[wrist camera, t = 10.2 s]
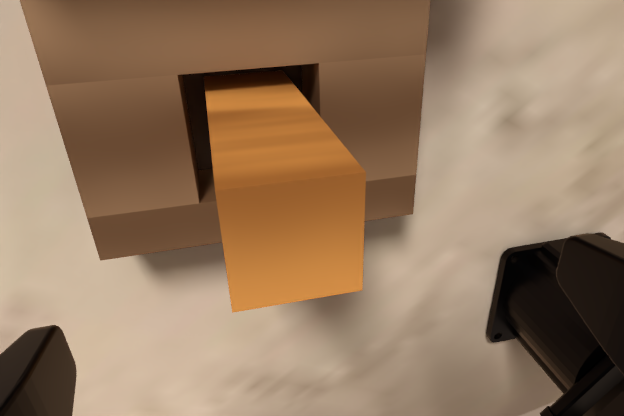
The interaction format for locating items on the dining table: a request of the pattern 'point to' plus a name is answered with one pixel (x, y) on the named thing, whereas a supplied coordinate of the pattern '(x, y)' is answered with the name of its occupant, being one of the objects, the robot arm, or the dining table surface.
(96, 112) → the socket board
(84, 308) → the dining table surface
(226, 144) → the peg
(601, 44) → the dining table surface
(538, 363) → the robot arm
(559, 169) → the dining table surface
